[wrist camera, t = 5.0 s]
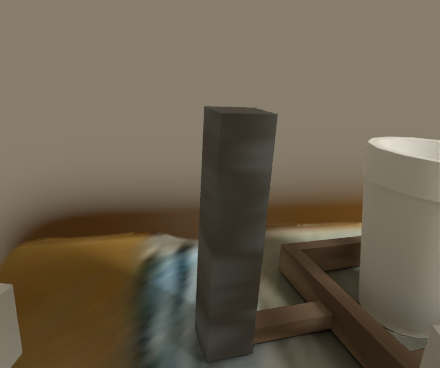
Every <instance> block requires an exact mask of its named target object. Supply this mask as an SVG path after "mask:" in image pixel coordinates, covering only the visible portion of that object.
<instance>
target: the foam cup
mask: <svg viewBox="0 0 440 368" xmlns="http://www.w3.org/2000/svg"><path fill="white" fill-rule="evenodd" d="M362 174H363V175H364V196H363V215H362V235H361V255H360V274H359V302H360V305H361V307H362V308H363V309H364V310H366V311H367V312H368V313H369V314H370V315H371V316H372V317H373V318H374V319H375V320H376V321H377V322H378V323H380V324H381V325H382V326H384V327H386V328H388V329H390V330H392V331H394V332H395V333H398V334H402V335H406V336H410V337H414V338H418V339H419V338H428V337H429V333H430V330H431V327H432V325H439V326H440V140H431V139H421V138H407V137H381V138H372V139H371V140H369V141H368V144H367V148H366V154H365V159H364V164H363V170H362Z"/></svg>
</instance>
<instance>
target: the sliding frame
mask: <svg viewBox="0 0 440 368" xmlns="http://www.w3.org/2000/svg"><path fill="white" fill-rule="evenodd" d="M276 124H277V114H275V113H271V112H267V111H264V110H260V109H256V108H246V107H207V106H205V107H204V127H203V150H202V175H201V197H200V220H199V221H200V222H199V244H198V267H197V291H196V315H195V331H196V333H197V336H198V339H199V342H200V345H201V348H202V351H203V353H204V356H205V359H206V362H212V361H217V360H221V359H226V358H231V357H236V356H241V355H245V354H250V353H252V350H253V344H256V343H261V342H266V341H271V340H276V339H281V338H286V337H291V336H296V335H301V334H306V333H311V332H316V331H321V330H326V329H331V330H332V331H333V333H334V334H335V335H336V336H337V337H338V338H339V339H340V341H341V342H342V343H343V344H344V345H345V346H346V348H347V349H348V350H349V351H350V352H351V353H352V355H353V356H354V357H355V358H356V359H357V360H358V361H359V363H360V364H361V365H362V366H363V367H364V368H419V367H420V364H421V360H422V357H423V354H424V350H425V348H423V349H419V350H415V351H411V352H410V351H408V350H407V349H406V348H405V347H404V346H403V345H402V344H401V343H400V342H399V341H398V340H397V339H396V338H395V337H393V336H392V335H391V334H390V333H389V332H388V331H387V330H386V329H385V328H384V327H383V326H382V325H381V324H380V323H378V322H377V321H376V320H375V319H374V318H373V317H372V316H371V315H370V314H369V313H368V312H367V311H366V310H364V309H363V308H362V307H361V306H360V305H359V304H358V303H357V302H356V301H355V300H354V299H353V298H352V297H351V296H349V295H348V294H347V293H346V292H345V291H344V290H343V289H342V288H341V287H340V286H339V285H338V284H337V283H336V282H334V281H333V280H332V279H331V278H330V277H329V276H328V275H327V274H326V273H325V272H324V271H325V270H332V269H340V268H347V267H354V266H360V255H361V236H357V237H347V238H338V239H329V240H319V241H310V242H300V243H291V244H282V246H281V254H280V262H279V270H280V271H281V272H282V273H283V275H284V276H285V277H286V278H287V279H288V280H289V282H290V283H291V284H292V285H293V286H294V287H295V289H296V290H297V291H298V292H299V293H300V294H301V295H302V297H303V298H304V299H305V300H306V301H307V302H308V303H302V304H296V305H291V306H285V307H279V308H273V309H267V310H261V311H257V303H258V294H259V284H260V275H261V265H262V256H263V247H264V237H265V228H266V218H267V209H268V199H269V191H270V181H271V171H272V162H273V153H274V144H275V134H276Z"/></svg>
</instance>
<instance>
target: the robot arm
mask: <svg viewBox="0 0 440 368" xmlns="http://www.w3.org/2000/svg"><path fill="white" fill-rule="evenodd" d="M21 354H22V347H21V340H20V333H19V326H18V319H17V312H16V305H15V298H14V291H13V284H3V283H0V368H11V367H12V366H13V364H14V363H15V362H16V361H17V359H18V358H19V357H20V356H21ZM419 368H440V326H439V325H432V327H431V330H430V333H429V337H428V340H427V344H426V347H425V350H424V354H423V357H422V360H421V364H420V367H419Z"/></svg>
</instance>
